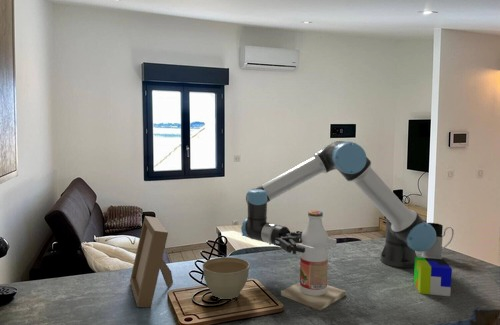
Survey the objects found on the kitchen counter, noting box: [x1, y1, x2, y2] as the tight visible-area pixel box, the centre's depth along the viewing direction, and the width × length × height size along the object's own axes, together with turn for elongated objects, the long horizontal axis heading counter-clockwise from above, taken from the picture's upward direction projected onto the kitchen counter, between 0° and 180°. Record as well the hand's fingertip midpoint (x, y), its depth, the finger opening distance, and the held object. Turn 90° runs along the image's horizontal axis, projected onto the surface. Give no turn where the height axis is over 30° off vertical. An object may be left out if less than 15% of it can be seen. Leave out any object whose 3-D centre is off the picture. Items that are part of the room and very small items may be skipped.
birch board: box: [280, 281, 346, 312], centre depth 134 cm, size 16×16×2 cm
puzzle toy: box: [413, 256, 453, 297], centre depth 140 cm, size 10×10×10 cm
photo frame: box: [129, 215, 174, 308], centre depth 133 cm, size 15×22×25 cm
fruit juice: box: [299, 210, 329, 296], centre depth 132 cm, size 9×9×28 cm
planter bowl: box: [202, 256, 251, 300], centre depth 133 cm, size 16×16×11 cm
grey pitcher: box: [421, 222, 455, 259], centre depth 176 cm, size 9×14×15 cm, turn 96°
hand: (325, 247), depth 129 cm, fingers open, 13 cm apart
